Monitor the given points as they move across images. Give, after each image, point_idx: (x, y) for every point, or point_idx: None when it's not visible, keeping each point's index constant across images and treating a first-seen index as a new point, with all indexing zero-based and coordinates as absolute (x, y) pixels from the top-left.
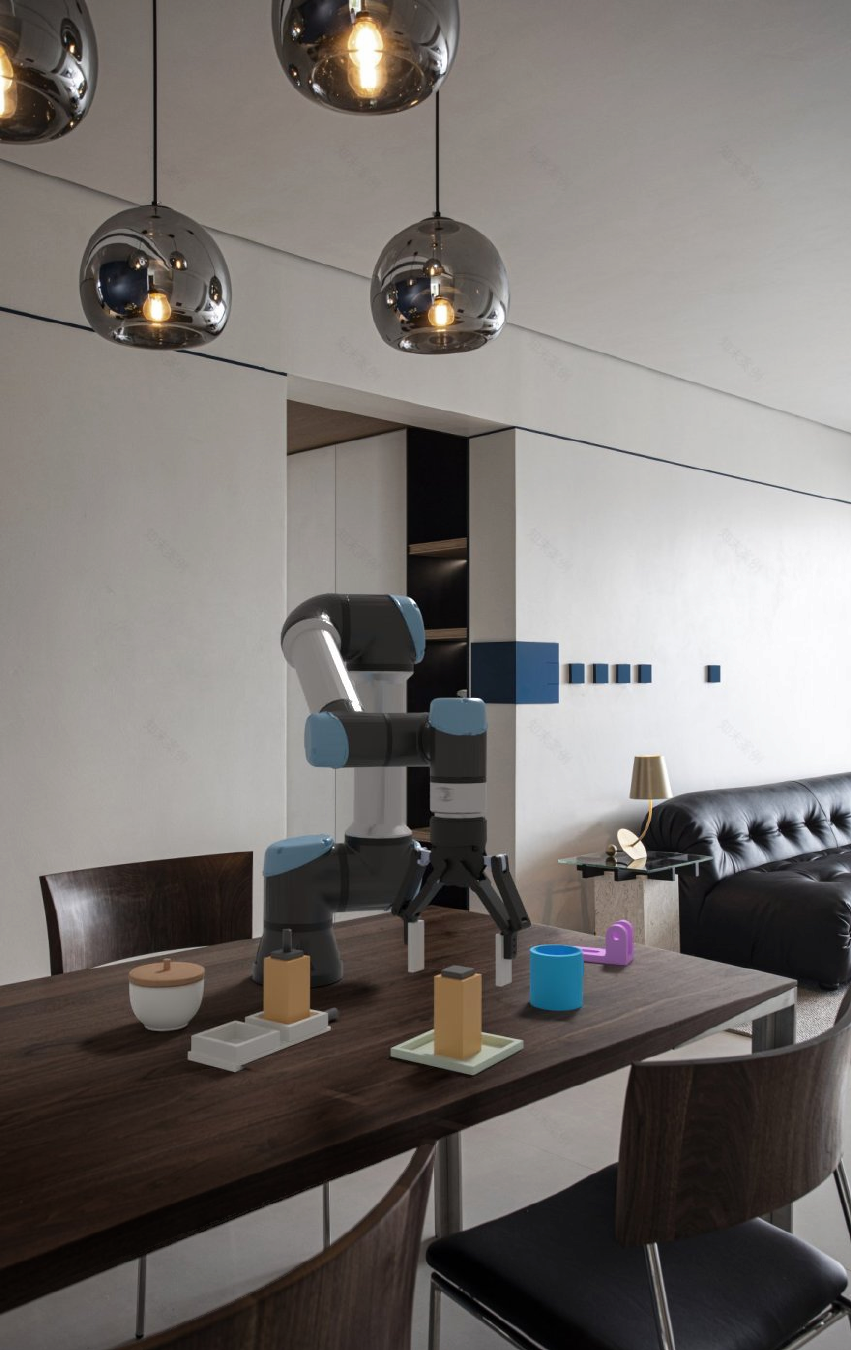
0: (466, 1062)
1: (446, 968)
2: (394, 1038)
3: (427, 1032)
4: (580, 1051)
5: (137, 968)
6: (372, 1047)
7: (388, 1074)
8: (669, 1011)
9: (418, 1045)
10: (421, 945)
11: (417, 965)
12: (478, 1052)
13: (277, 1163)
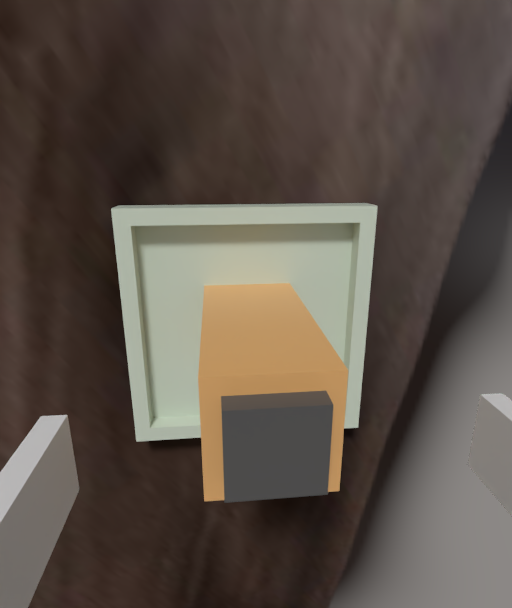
0: None
1: (227, 472)
2: (27, 299)
3: (125, 299)
4: (489, 101)
5: None
6: (40, 383)
7: (192, 480)
8: None
9: (145, 349)
10: (22, 519)
11: (67, 478)
12: None
13: None
